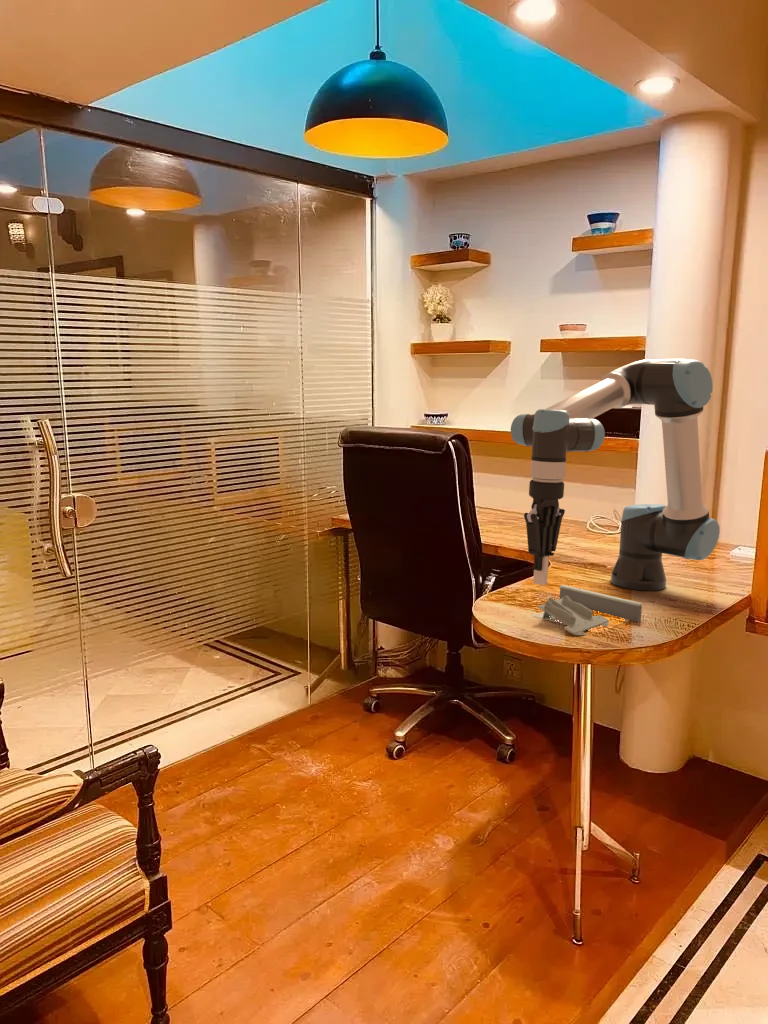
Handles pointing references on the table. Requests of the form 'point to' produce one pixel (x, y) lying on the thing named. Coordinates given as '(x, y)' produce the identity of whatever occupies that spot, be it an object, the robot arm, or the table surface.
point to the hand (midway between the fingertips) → (540, 583)
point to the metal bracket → (572, 615)
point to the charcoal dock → (600, 604)
